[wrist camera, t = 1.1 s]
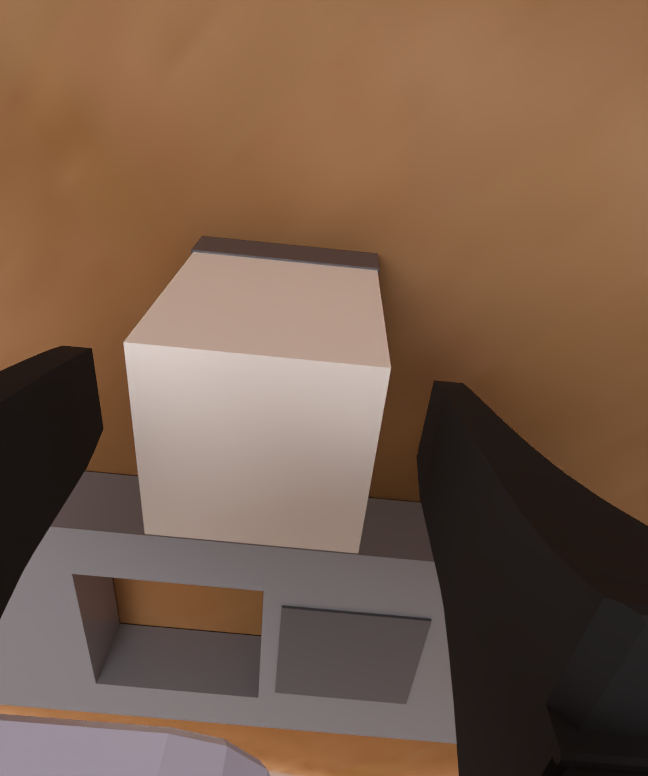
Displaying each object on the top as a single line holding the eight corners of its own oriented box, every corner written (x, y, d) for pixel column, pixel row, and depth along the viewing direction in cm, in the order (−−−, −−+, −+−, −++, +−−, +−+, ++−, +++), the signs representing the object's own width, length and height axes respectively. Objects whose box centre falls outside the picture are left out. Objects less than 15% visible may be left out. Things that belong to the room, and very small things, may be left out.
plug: (377, 252, 14) (394, 366, 9) (356, 400, 16) (360, 555, 11) (202, 235, 14) (120, 338, 9) (206, 385, 16) (142, 535, 11)
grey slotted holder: (571, 516, 18) (615, 605, 16) (496, 685, 24) (518, 777, 21) (-27, 460, 18) (-100, 540, 15) (30, 644, 23) (-17, 731, 20)
